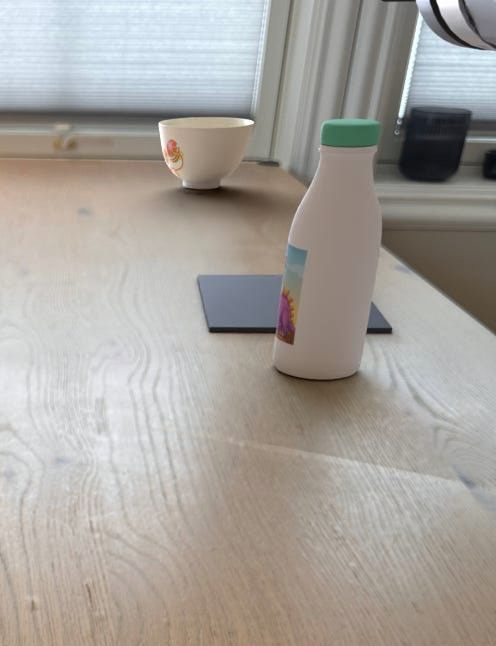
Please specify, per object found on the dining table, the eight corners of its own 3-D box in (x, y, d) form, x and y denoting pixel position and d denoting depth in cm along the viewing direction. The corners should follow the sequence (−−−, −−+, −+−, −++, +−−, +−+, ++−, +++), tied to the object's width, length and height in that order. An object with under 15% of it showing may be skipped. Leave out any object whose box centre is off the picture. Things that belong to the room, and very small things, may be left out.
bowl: (146, 181, 178) (149, 119, 172) (232, 177, 179) (237, 115, 173) (167, 196, 164) (171, 129, 159) (260, 191, 166) (267, 125, 160)
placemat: (391, 332, 97) (392, 327, 97) (208, 331, 99) (209, 327, 99) (350, 278, 116) (351, 274, 115) (196, 278, 117) (197, 274, 117)
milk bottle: (369, 362, 90) (414, 117, 79) (344, 387, 84) (388, 128, 73) (288, 350, 93) (319, 114, 82) (259, 373, 88) (288, 124, 77)
